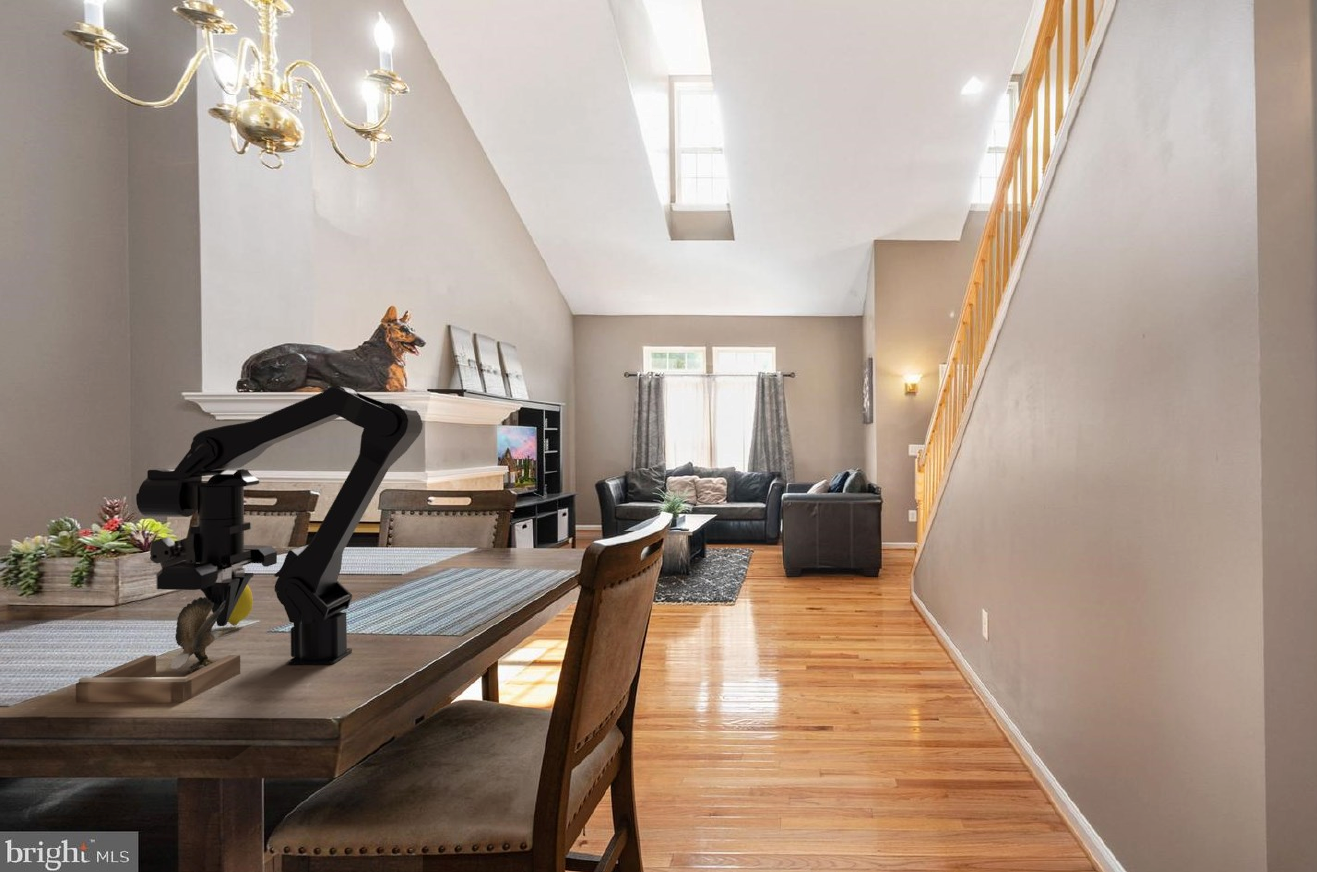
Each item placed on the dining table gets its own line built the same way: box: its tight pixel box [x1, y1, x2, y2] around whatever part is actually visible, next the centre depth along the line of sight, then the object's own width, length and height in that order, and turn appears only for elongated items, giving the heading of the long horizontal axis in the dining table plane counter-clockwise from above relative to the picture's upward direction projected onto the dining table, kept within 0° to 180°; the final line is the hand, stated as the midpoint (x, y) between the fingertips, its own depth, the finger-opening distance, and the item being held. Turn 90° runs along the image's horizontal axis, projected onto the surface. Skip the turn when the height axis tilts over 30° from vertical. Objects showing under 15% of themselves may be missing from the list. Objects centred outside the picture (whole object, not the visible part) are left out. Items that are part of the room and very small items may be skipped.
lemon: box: [227, 584, 254, 626], centre depth 126 cm, size 6×6×8 cm
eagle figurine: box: [169, 596, 226, 674], centre depth 102 cm, size 8×7×9 cm
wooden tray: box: [75, 654, 241, 703], centre depth 94 cm, size 13×12×3 cm
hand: (221, 625), depth 107 cm, fingers closed
